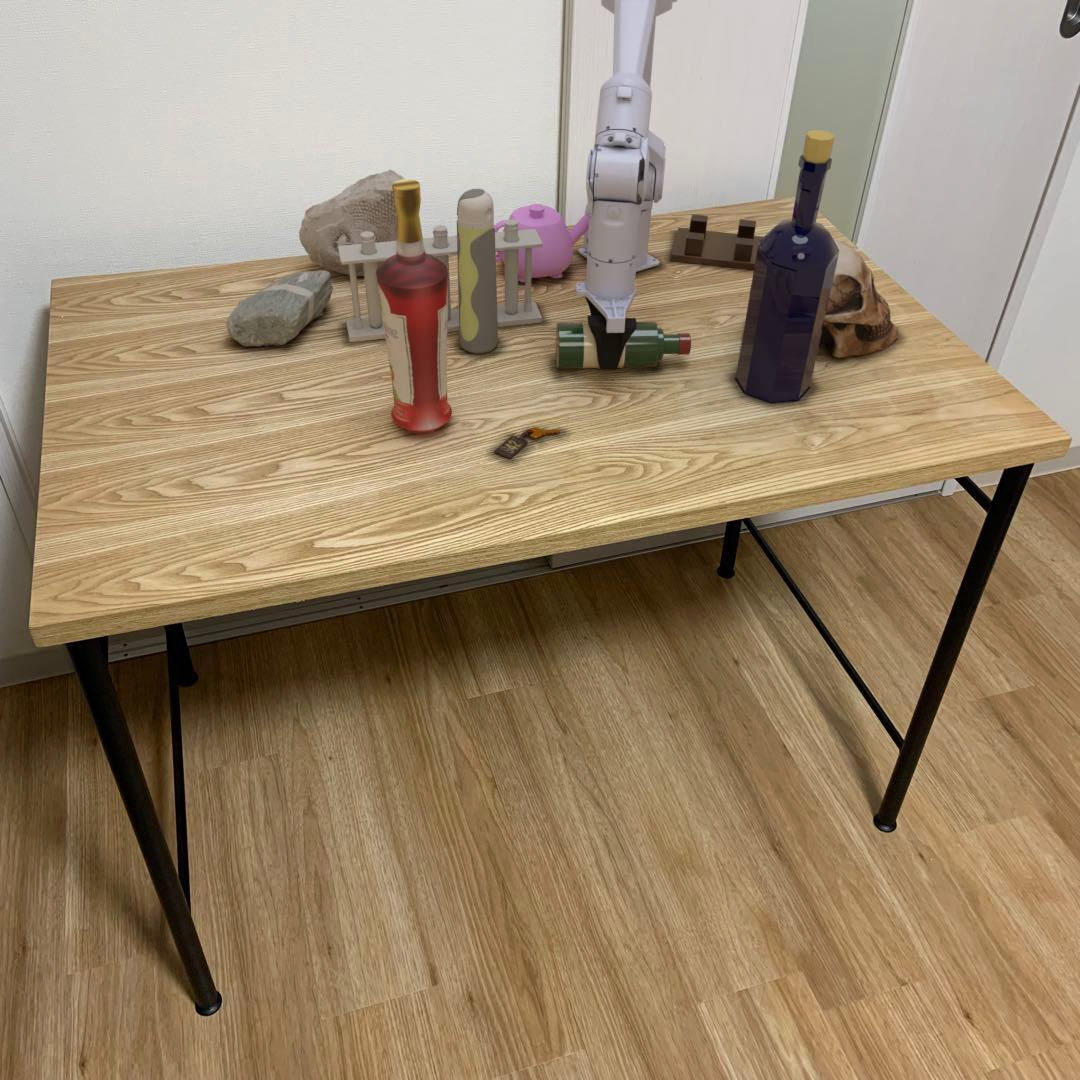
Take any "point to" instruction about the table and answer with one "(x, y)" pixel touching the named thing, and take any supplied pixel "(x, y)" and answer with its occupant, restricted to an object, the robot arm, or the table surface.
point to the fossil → (350, 221)
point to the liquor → (415, 320)
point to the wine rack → (716, 245)
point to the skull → (855, 309)
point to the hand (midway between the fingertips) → (605, 354)
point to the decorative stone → (280, 309)
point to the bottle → (790, 290)
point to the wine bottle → (638, 352)
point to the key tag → (520, 441)
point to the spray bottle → (477, 272)
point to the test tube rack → (441, 249)
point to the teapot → (545, 240)
